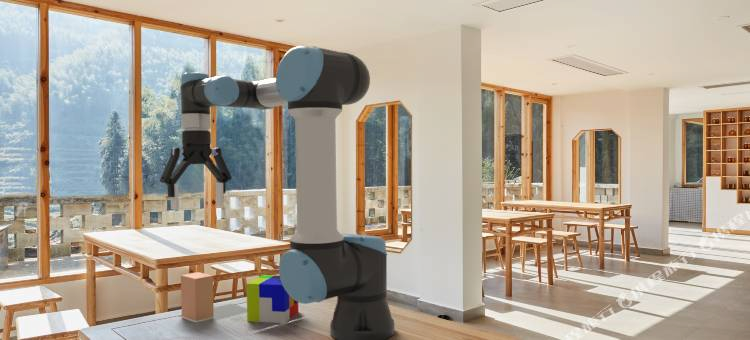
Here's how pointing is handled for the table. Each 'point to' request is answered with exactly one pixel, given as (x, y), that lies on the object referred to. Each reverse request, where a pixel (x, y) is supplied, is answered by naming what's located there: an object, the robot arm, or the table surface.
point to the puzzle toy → (269, 301)
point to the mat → (224, 312)
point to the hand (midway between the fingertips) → (198, 207)
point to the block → (197, 297)
